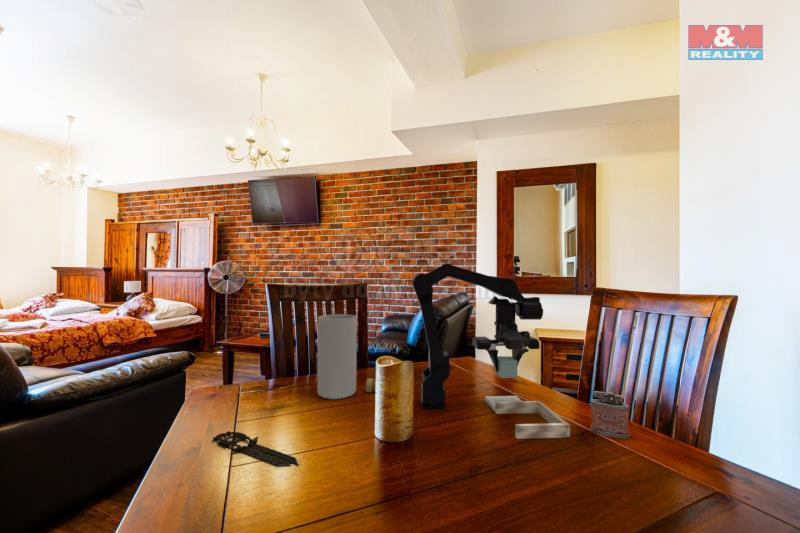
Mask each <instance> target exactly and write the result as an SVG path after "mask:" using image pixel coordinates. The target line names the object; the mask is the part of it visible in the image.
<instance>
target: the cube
mask: <svg viewBox="0 0 800 533" xmlns="http://www.w3.org/2000/svg"><path fill="white" fill-rule="evenodd" d="M497 356H498V372H496V371H495V370H494V374H495V375H497V376H498V377H499V378H500V379H512V378H513V379H518V366H517V360H516V359H514V358H513V357H512V355H509V356H508V355H506V356H501V355H497Z"/></svg>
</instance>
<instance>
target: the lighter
mask: <svg viewBox="0 0 800 533" xmlns="http://www.w3.org/2000/svg"><path fill="white" fill-rule="evenodd" d="M593 397H594V398H591V399H590V405H591V406H590V412H591V417H590V418H591V425H590V431H591V432H592V433H595V434H598V435H601V436H608V437H610V438H611V437H613V438H619V439H629V438H630V433H629V410H630V406H629V404H627V403H625V402H624V403H623V401H624V396H623V395H621V394H616V393H614V392H612V391H608V392H605V391H598V390H594V391H593ZM596 398H598V399H596Z"/></svg>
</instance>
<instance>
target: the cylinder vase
mask: <svg viewBox="0 0 800 533" xmlns="http://www.w3.org/2000/svg"><path fill="white" fill-rule="evenodd" d="M357 318H358V317H357V315H353V314H338V313H337V314H325V315H320V316H318V318H317V395H318V396H319V397H320V396H321V398H322V397H323V399H326V398H327V399H326V400H341V399H342V398H343V399H346V397H347V398H349V396H350V397H351V396H353V395H354V394H356V392H357V333H358V332H357V330H358V329H357V328H358V327H357V323H358V322H357V320H358V319H357Z"/></svg>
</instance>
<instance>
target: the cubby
mask: <svg viewBox="0 0 800 533" xmlns="http://www.w3.org/2000/svg"><path fill="white" fill-rule="evenodd" d="M494 412H495V414H496V415H503V414H505V415H507V414H510V415H512V414H513V415H514V414H538V415H539V416H541V417H542V418H543V419H544V420H545V421H546V422H548V423H515V431H514V432H515V438H516V439H518V440H523V439H525V440H526V439H527V440H529V439H562V438H564V439H565V438H566V439H567V438H571V424H570V423H569V422H567V421H566V420H565V419H563V418H562V417H561V416H560V415H559V414H557V413H556V412H555V411H553V409H551V408H550V407H548V406H547V405H545V403H543V402H542V401H541V400H522V401H507V402H495V411H494Z"/></svg>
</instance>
